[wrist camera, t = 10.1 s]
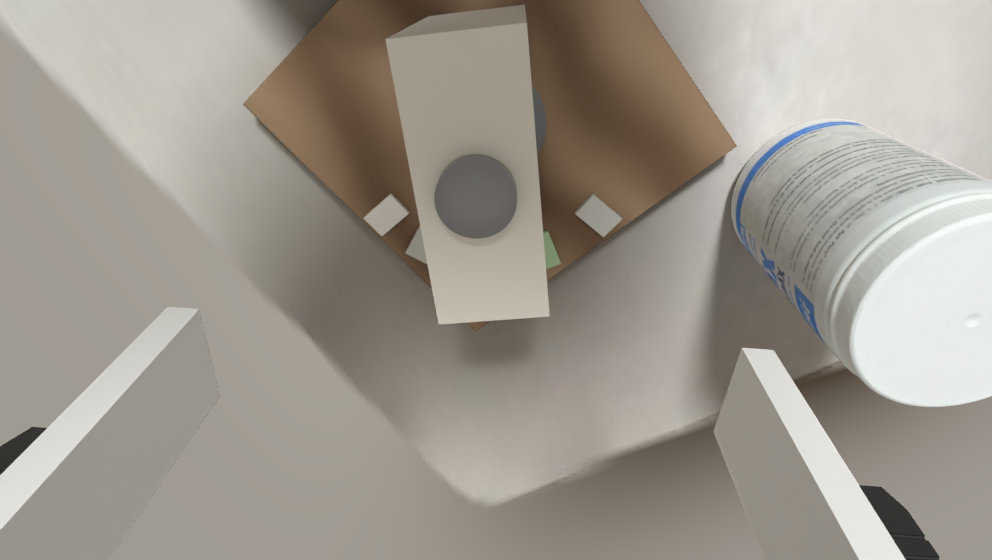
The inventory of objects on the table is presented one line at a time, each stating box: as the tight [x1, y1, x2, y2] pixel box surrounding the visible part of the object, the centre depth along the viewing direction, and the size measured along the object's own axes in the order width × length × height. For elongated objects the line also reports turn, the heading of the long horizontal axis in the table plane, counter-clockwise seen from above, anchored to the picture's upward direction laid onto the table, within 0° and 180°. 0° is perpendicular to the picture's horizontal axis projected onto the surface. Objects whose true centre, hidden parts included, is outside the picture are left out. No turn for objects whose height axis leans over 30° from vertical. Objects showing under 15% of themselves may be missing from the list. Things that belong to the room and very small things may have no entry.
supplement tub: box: [731, 119, 992, 407], centre depth 29 cm, size 10×10×15 cm
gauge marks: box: [363, 193, 622, 269], centre depth 35 cm, size 12×10×1 cm
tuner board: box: [243, 0, 737, 331], centre depth 33 cm, size 20×20×2 cm
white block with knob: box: [385, 5, 550, 325], centre depth 28 cm, size 16×5×12 cm, turn 6°
